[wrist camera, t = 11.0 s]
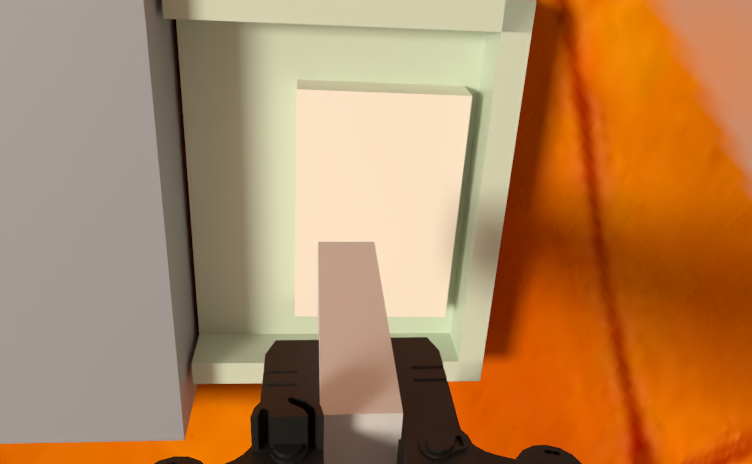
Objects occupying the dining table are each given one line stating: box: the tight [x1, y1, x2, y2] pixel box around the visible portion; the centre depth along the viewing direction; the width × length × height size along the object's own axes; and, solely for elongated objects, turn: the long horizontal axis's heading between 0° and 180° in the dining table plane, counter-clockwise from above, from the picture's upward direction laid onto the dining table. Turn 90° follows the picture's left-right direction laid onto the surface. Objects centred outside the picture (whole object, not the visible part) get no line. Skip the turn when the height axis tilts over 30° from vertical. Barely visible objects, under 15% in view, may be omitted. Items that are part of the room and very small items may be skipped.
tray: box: [162, 0, 537, 384], centre depth 25 cm, size 15×12×2 cm
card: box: [294, 79, 472, 317], centre depth 26 cm, size 9×6×1 cm, turn 177°
